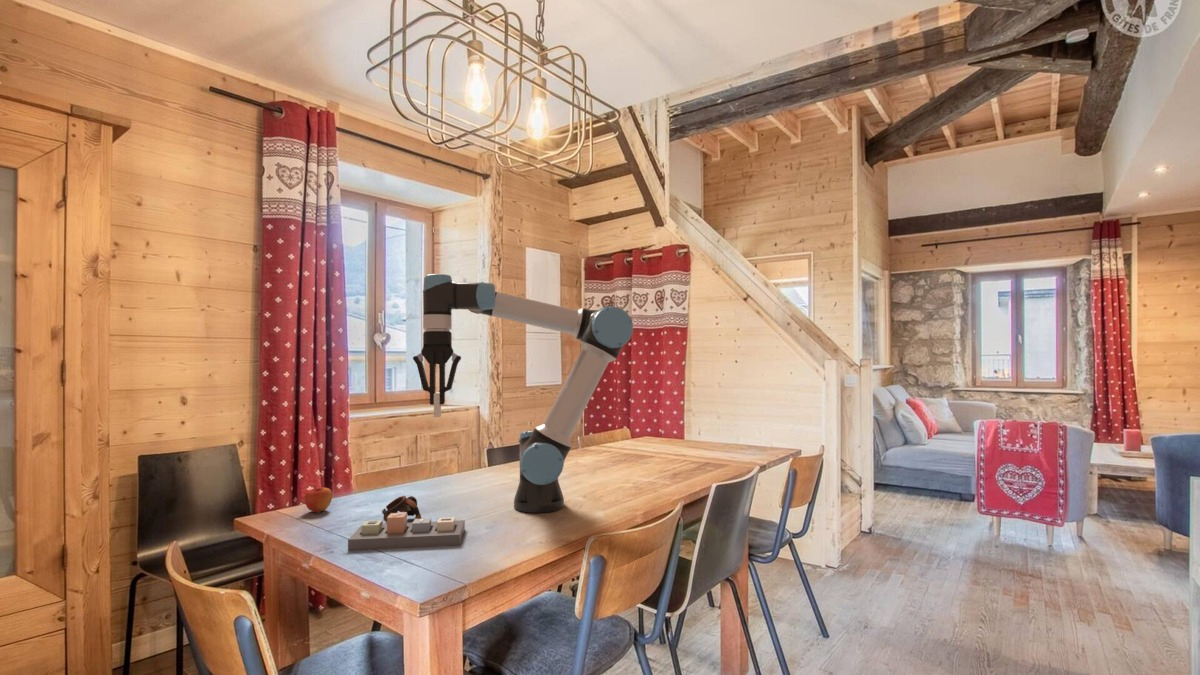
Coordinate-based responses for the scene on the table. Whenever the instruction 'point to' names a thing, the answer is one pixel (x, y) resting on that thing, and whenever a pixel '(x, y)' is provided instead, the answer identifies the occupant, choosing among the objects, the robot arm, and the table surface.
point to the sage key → (372, 527)
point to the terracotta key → (397, 523)
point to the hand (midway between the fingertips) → (437, 416)
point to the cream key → (446, 524)
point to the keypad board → (407, 538)
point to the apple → (318, 499)
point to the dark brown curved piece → (402, 507)
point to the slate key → (421, 525)
